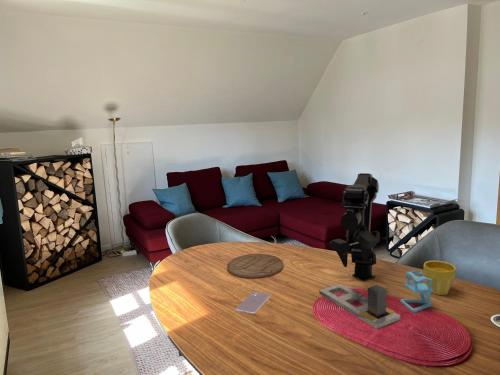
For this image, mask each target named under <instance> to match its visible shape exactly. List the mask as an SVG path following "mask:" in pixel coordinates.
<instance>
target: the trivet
mask: <svg viewBox="0 0 500 375" xmlns="http://www.w3.org/2000/svg"><path fill="white" fill-rule="evenodd" d="M282 270H284V261H283V260H282V259H281V258H280V257H278V256H276V255H272V254H268V253H248V254H243V255H239V256H236V257H234V258H232V259H230V260H229V261H228V262H227V266H226V271H227V272H228V274H230V275H232V276H233V277H236V278H239V279H245V280H247V279H248V280H257V279H258V280H259V279H266V278H271V277H273V276H276V275H278V274H279V273H281V272H282Z"/></svg>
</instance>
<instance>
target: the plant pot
mask: <svg viewBox="0 0 500 375" xmlns="http://www.w3.org/2000/svg"><path fill="white" fill-rule="evenodd" d="M422 270H423V272H422V273H423V274H424V275H425V277H427V278H430V279H432V282H431V284H430V287H431V288H432V289H433V292H431V294H434V295H438V296H446V295H448V294H449V291H450V288H451V286H452V281H453V279H455V277H456V272H457V268H456V266H455V265H454V264H451V263H450V262H446V261H442V260H441V261H440V260H427V261H425V262H424V264H423V269H422ZM428 283H429V281H426V285H427V286H428Z"/></svg>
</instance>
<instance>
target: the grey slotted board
mask: <svg viewBox="0 0 500 375" xmlns="http://www.w3.org/2000/svg"><path fill="white" fill-rule="evenodd" d="M338 292H340V293H343V294H342V295H340V296H338V295H335V293H338ZM318 293H319V295H320V296H322V297H323V298H325V299H327V300H328V299H329V300H328V301H330V302H331V303H333V302H334V303H333V304H335V305H336V306H338V305H339V306H338V307H340V306H341V307H340V308H342V309H343V308H344V309H343V310H345V311H347V312H348V313H350V314H352V315H353V316H355V317H356V316H357V318H358V319H360V320H362V321H363V322H365V323H367V324H368V325H370V326H371V327H373V328H375V329H376V330H378V329H382V328H383V327H386V326H389V325H390V324H393V323H396V322H398V321H400V320H401V314H398V313H396V312H395V310H393V309H390V308H388V306H386V316H384V317H382V318H379V319H377V318H375V317H374V316H372V315H370V314H368V297H367V296H364V295H363V294H361V293H359V292H357V291H355V290H353V289H352V288H350V287H347V286H346V285H344V284H341V283H338V284H334V285H332V286H328V287H326V288H321V289H319V292H318ZM344 293H345V294H344ZM356 300H357V301H356ZM353 302H359V303H360V304H362V303H363V304H362V305H359V306H355V305H353V304H351V303H353ZM364 304H365V305H364ZM388 324H389V325H388Z"/></svg>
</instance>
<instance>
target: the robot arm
mask: <svg viewBox="0 0 500 375" xmlns="http://www.w3.org/2000/svg"><path fill="white" fill-rule="evenodd" d="M379 188H380V186H379V180H378V179H377V178H375V177H373V174H372V173H367V172H366V173H361V172H360V173H358V174H357V176H356V180H355V181H354V183H353V184H349V185H348V186H346V187H345V189H344V190H343V195H342V200H341V206H340V208H341V209H345V213H344V214H343V215H342V216H341V217H340V225H341V227H343V229H345V230H346V234H345V235H344V239H346V240H344V239H341V238H336V239H332V240H331V241H330V242H329V249H331V250H333V251H335V252H336V253H337V255H338V257H339V259H340V261H341V263H342V265H343V267H344V268H348V256H349V253H350V252H351V253H350V254H351V256H350V258H351V264H354V271H353V272H354V273H353V274H351V276H352V277H354V278H356V279H358V280H360V281H362V282H364V281H369V280H371V279H373V278H376V275H374V274H373V266H374V265H377V254H376V253H375V250H374V248H375V247H376V246H377V245H378V243H381V233H380V232H379V230H375V231H374V230H373V231H371V224H372V222H371V220H372V208H373V207H372V206H373V203H374V201H375V200H376V199H377V195H378V194H377V193H379V192H380V191H379V190H380V189H379ZM351 246H353V247H352V248H351Z"/></svg>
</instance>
